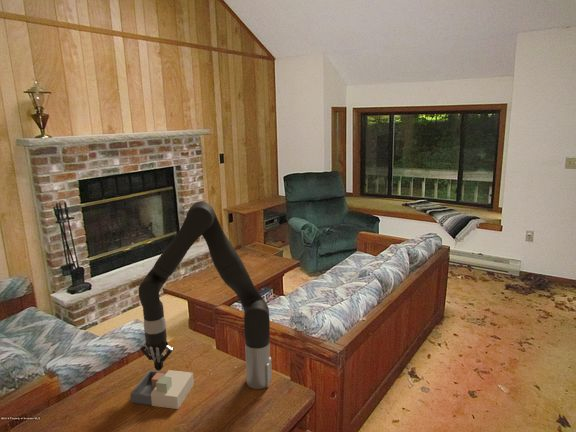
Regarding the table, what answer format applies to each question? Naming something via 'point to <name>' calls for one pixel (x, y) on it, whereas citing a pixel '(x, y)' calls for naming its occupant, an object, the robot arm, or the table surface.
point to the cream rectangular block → (174, 390)
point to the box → (144, 389)
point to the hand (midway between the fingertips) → (159, 369)
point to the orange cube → (156, 378)
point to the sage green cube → (164, 384)
